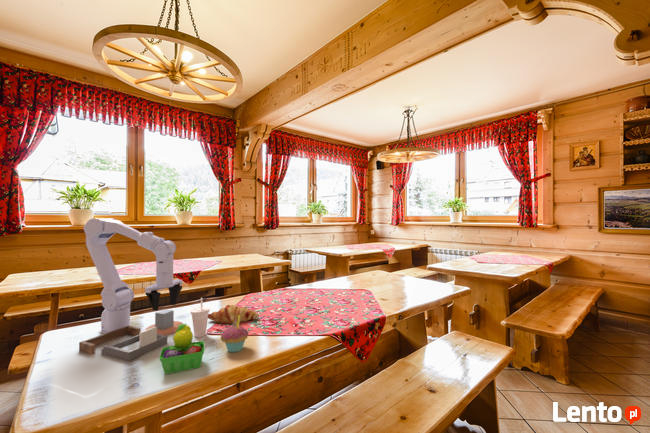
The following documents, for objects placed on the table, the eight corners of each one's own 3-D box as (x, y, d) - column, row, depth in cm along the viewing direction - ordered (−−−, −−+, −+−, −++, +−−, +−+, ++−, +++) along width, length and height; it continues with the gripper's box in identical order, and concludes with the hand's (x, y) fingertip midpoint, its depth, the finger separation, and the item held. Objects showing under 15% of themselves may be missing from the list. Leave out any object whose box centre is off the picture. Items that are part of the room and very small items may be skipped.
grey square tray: (101, 353, 89) (101, 331, 89) (141, 337, 101) (141, 318, 101) (128, 361, 84) (129, 337, 84) (167, 343, 96) (167, 322, 96)
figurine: (242, 335, 103) (241, 318, 104) (229, 337, 101) (228, 320, 102) (241, 332, 108) (240, 316, 109) (229, 334, 106) (228, 318, 107)
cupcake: (253, 345, 95) (253, 309, 95) (237, 357, 87) (237, 318, 87) (231, 341, 98) (231, 307, 98) (215, 352, 90) (215, 315, 90)
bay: (79, 351, 91) (79, 342, 91) (128, 333, 106) (128, 325, 106) (91, 355, 89) (91, 345, 89) (140, 335, 103) (140, 327, 103)
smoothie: (202, 340, 100) (202, 300, 100) (186, 338, 101) (186, 299, 101) (213, 333, 106) (213, 295, 106) (198, 331, 107) (198, 294, 107)
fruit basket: (158, 378, 76) (158, 336, 76) (162, 362, 84) (163, 324, 84) (204, 368, 80) (204, 329, 81) (204, 355, 89) (204, 319, 89)
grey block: (155, 328, 108) (155, 312, 108) (165, 324, 112) (165, 309, 112) (163, 330, 106) (163, 314, 106) (173, 325, 110) (173, 310, 110)
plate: (136, 334, 105) (136, 330, 105) (167, 322, 117) (167, 319, 117) (161, 339, 100) (161, 336, 100) (190, 326, 112) (190, 323, 112)
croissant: (259, 324, 123) (260, 306, 127) (257, 321, 115) (258, 301, 119) (208, 326, 120) (211, 307, 124) (202, 323, 112) (205, 302, 116)
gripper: (154, 276, 101) (154, 314, 101) (187, 269, 114) (187, 303, 114) (141, 274, 103) (140, 311, 103) (175, 268, 117) (175, 301, 117)
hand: (164, 307), depth 109 cm, fingers open, 7 cm apart
